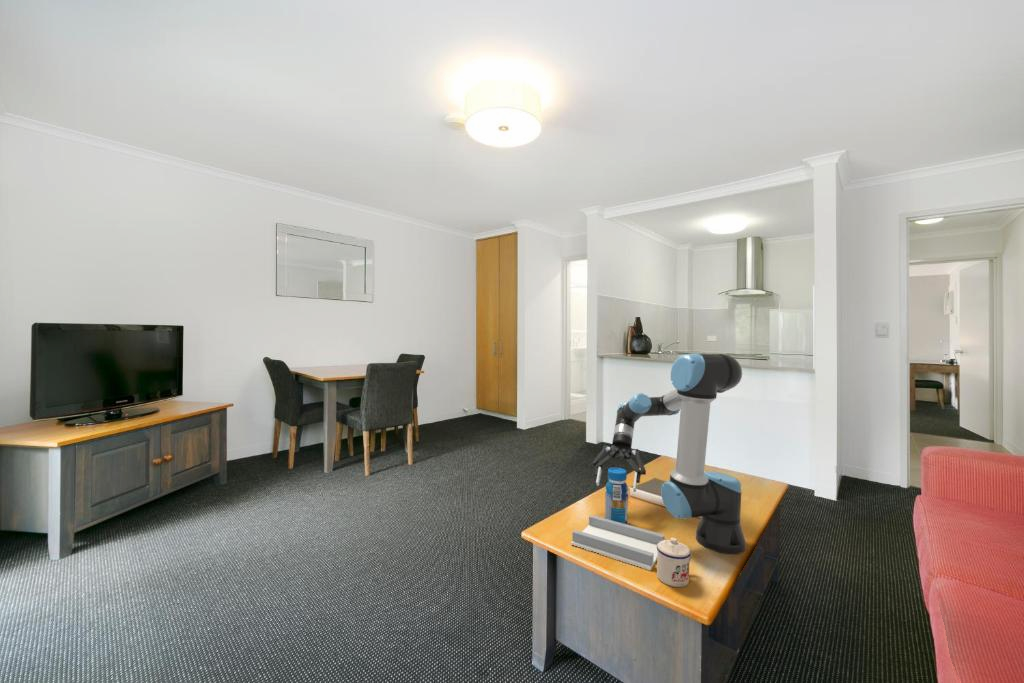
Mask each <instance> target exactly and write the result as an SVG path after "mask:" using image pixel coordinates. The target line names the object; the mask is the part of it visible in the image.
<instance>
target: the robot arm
mask: <svg viewBox="0 0 1024 683" xmlns="http://www.w3.org/2000/svg"><path fill="white" fill-rule="evenodd" d="M742 376H743V370H742V367H741V365H740V363H739V361H737V359H736V358H734V357H733V356H731V355H729V354H726V353H725V354H724V353H695V352H694V353H689V354H683V355H680V356H678V357H677V359H675V361H674V362H673V364H672V366H671V370H670V381H671V385H672V386H673V388H675V389H673V390H671V391H670V392H667V393H665V394H664V395H661V396H648V395H647V394H644V393H642V392H640V393H636V394H635V395H634V396H632V397H631V398H630V399H629V400H628V402H623V403H620V404H619V405H618V409H617V411H616V418H615V426H614V432H613V437H612V443H611V446H608V445H607V444H603V445H602V446H603V447H602V449H601V451H600V452H599V453H598V454H597V456H595V458H594V459H593V461H591V465H592V468H595V470H594V471H595V472H594V474H595V477H596V480H595V483H596V486H597V487H598V486H600V484H601V483H600V482H601V476H602V468H603V467H604V466H606V464H608V463H610V462H611V461H614V459H615V460H621V461H624V460H626V461H627V463H628V464H629V465H630V466H631V468H632V469H633V470H634V478H633V486H632V491H633V493H636V492H637V484H640V483H641V476H643V475H644V476H645V475H646V474H647V472H646V468H645V465H644V463H643V460H642V459H641V456H640V449H638V448H635V449H632V446H633V445H632V444H633V437H634V431H635V423H636V422H637V421H638V420H639V419H640V418H642V417H654V416H655V417H657V416H658V417H659V416H669V417H670V416H673V415H677V414H679V412H680V414H679V424H678V425H679V427H678V438H677V447H676V448H677V451H676V461H675V462H676V463H675V468H673V470H671V471H670V473H669V474H670V475H669V481H668V480H667V481H665V482H664V483H662V485H661V488H660V496H661V500H662V502H663V505H664V506H665V509H666V510H667V512H669V514H670V515H671V516H673V517H674V518H675V519H680V520H681V519H686V520H688V519H692V518H698V517H700V520H699V522H698V524H697V527H696V529H695V540H696V541H697V543H699V544H700V545H701V546H703V547H704V548H706V549H709V550H711V551H714V552H719V553H723V554H727V555H729V554H732V555H735V554H740V552H741V553H743V552H744V551H745V550H746V538H745V535H744V532H743V529H742V525H741V511H742V510H741V506H742V494H743V493H742V484H741V481H740V480H739V479H737V478H736V477H735V476H731V475H729V474H726V473H722V472H718V471H711V470H708V471H707V470H706V471H705V465H706V457H707V456H706V454H707V442H708V435H709V434H708V433H709V425H710V413H711V412H710V411H711V403H712V402H713V401H715V400H716V399H717V395H718V394H723V393H725V392H728V391H729V390H731V389H733V388H735V387H737V385H738V384H740V383H741V381H742V380H741V379H742ZM609 451H610V453H608V452H609ZM607 453H608V454H607ZM606 454H607V455H606ZM631 455H633V456H634V457H635V458H636V461H637V463H638V465H639V467H638V465H637V464H636V462H634V460H633V459H632V458H631Z"/></svg>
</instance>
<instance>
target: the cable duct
mask: <svg viewBox="0 0 1024 683" xmlns="http://www.w3.org/2000/svg"><path fill="white" fill-rule="evenodd" d="M665 538H666V537H665V534H663V533H660V532H656V531H653V530H649V529H645V528H641V527H638V526H633V525H629V524H628V523H627V524H623V523H619V522H616V521H612V520H608V519H605V517H600V516H598V515H597V516H596V515H593V514H590V515H589V516H588V525H587V526H586V527H585V528H584V529H583V530H582V531H581V530H578V529H574V530H573V531H572V540H571V542H570V545H571V544H572V545H575V546H578V547H581V548H580V549H582V548H584V549H583V550H585V549H586V550H585V551H588V550H589V551H588V552H591V551H593V552H592V553H594V552H596V553H595V554H597V553H599V554H598V555H600V554H602V555H601V556H603V555H604V556H603V557H606V556H607V557H606V558H609V557H610V558H609V559H612V558H613V560H615V559H617V560H616V561H619V560H620V561H619V562H622V561H623V563H625V562H626V563H625V564H628V563H629V564H628V565H631V564H632V565H631V566H634V565H635V567H637V566H638V568H640V567H641V568H640V569H644V570H647V571H649V570H650V572H651V571H652V569H653V567H654V566H655V564H656V562H657V552H658V550H657V545H658V543H659V542H660V541H663V540H666V539H665ZM572 545H571V546H572ZM575 546H574V547H575ZM578 547H577V548H578Z"/></svg>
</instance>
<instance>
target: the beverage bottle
mask: <svg viewBox="0 0 1024 683" xmlns="http://www.w3.org/2000/svg"><path fill="white" fill-rule="evenodd" d="M627 473H628V472H627V470H626V469H624V468H621V467H610V468H608V470H607V479H608V481H607V482H606V484H605V490H606V491H605V493H604V497H605V500H604V501H605V502H604V503H605V504H604V505H605V506H604V518H605V519H608V520H612V521H616V522H619V523H623V524H627V525H628V514H629V512H628V509H629V507H628V506H629V494H628V492H629V487H628V484H627V483H626V481H627V477H628V476H627V475H628V474H627Z"/></svg>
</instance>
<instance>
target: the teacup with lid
mask: <svg viewBox="0 0 1024 683" xmlns="http://www.w3.org/2000/svg"><path fill="white" fill-rule="evenodd" d="M657 550H658V552H657V561H656V562H657V563H656V576H657V579H658V580H659V581H660V582H662V583H663V584H665V585H666V586H671V587H675V588H681V587H682V588H683V587H686V586H687V585H688V584H689V580H690V563H691V561H692V552H691V550H690V548H689V547H688V546H687V545H686V544H684V543H682V542H679V541H678V539H677V538H675V537H670V539H665V540H663V541H660V542H659V543H658V545H657Z"/></svg>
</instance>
